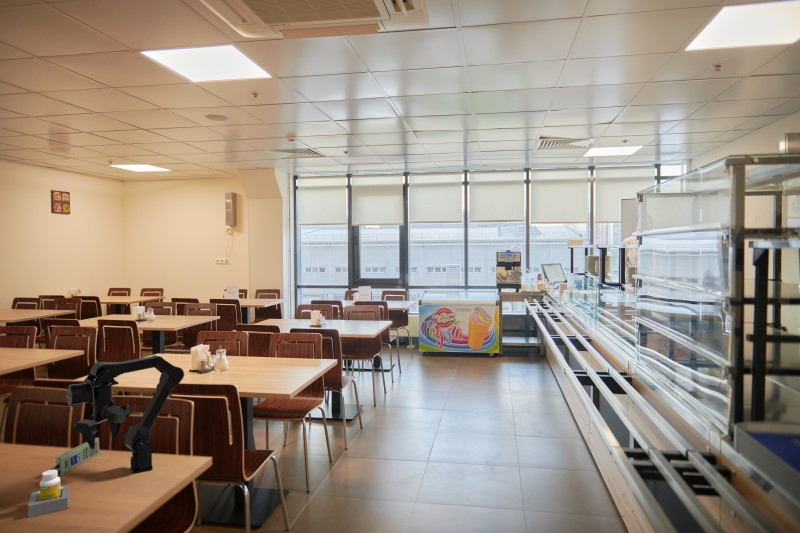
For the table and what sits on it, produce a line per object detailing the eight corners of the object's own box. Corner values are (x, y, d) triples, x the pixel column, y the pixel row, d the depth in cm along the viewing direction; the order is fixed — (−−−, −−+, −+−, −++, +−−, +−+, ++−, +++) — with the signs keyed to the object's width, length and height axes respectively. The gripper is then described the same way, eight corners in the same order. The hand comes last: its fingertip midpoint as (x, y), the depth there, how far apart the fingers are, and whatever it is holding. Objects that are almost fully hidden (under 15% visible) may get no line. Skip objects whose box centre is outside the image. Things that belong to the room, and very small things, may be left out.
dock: (69, 495, 168) (69, 485, 168) (67, 508, 159) (67, 497, 159) (32, 503, 163) (31, 492, 163) (28, 517, 154) (28, 506, 154)
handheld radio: (101, 454, 203) (51, 482, 178) (93, 454, 203) (42, 482, 178) (100, 437, 203) (49, 463, 178) (92, 437, 203) (41, 463, 178)
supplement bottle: (38, 508, 157) (37, 477, 157) (41, 501, 162) (40, 470, 162) (59, 504, 160) (58, 473, 160) (61, 497, 165) (61, 467, 164)
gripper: (99, 408, 167) (100, 456, 167) (142, 393, 185) (143, 436, 185) (72, 406, 170) (73, 453, 170) (116, 391, 188) (117, 433, 188)
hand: (103, 443), depth 178 cm, fingers open, 9 cm apart
